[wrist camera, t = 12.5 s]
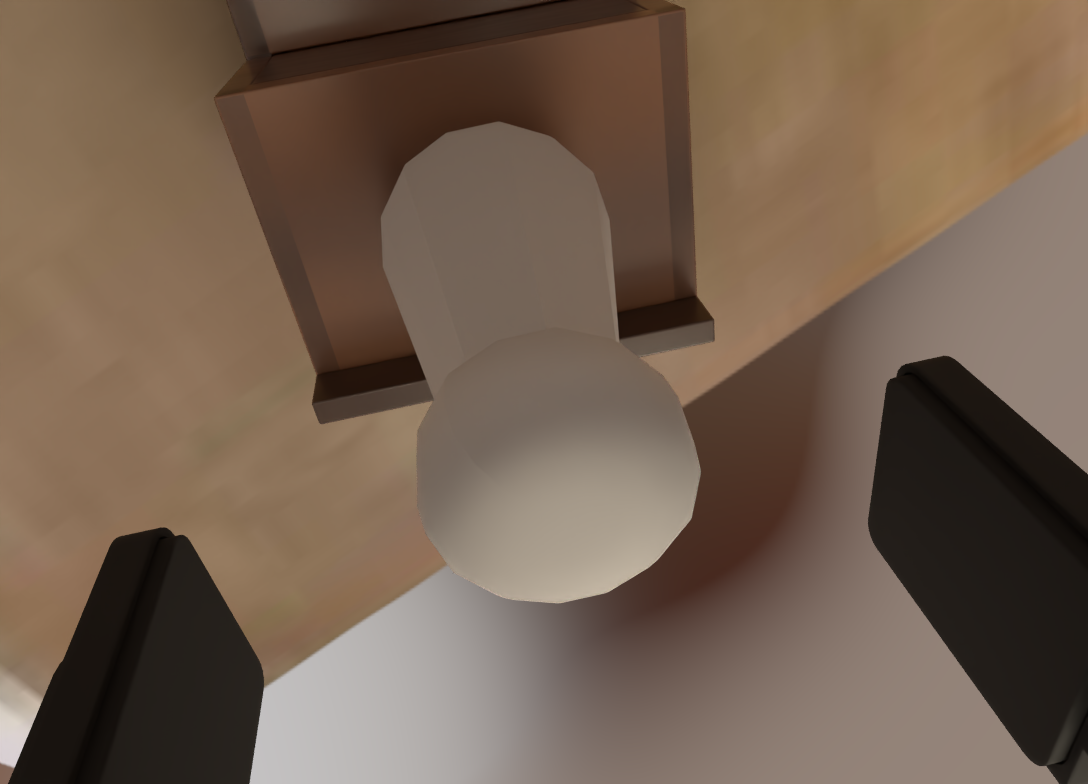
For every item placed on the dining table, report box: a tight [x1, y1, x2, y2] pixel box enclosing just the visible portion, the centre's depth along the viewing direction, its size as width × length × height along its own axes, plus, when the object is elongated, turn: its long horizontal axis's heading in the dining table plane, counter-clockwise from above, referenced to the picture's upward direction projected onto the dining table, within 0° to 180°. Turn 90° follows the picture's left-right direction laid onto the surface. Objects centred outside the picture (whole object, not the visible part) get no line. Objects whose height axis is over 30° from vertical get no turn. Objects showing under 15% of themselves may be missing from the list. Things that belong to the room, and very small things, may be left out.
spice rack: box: [214, 0, 715, 424], centre depth 23 cm, size 16×12×11 cm
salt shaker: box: [381, 121, 701, 603], centre depth 16 cm, size 6×6×13 cm
